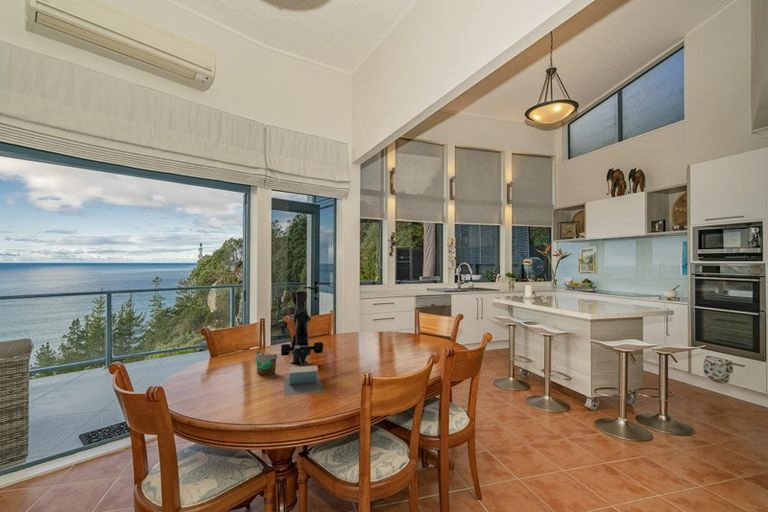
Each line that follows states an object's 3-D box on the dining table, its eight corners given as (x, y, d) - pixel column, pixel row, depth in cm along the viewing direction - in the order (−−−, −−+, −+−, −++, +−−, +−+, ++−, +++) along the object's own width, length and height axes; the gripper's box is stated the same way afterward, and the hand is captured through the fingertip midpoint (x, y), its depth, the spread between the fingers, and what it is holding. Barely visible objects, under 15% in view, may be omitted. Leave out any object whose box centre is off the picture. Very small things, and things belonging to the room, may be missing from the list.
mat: (283, 380, 159) (283, 379, 159) (319, 377, 163) (319, 376, 163) (284, 396, 140) (284, 395, 140) (324, 392, 144) (324, 391, 144)
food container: (248, 374, 167) (249, 353, 167) (258, 370, 172) (259, 350, 173) (267, 378, 161) (267, 356, 161) (277, 374, 167) (277, 353, 167)
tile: (288, 379, 154) (289, 367, 149) (316, 376, 158) (317, 365, 152) (288, 384, 152) (289, 373, 147) (316, 382, 156) (317, 371, 150)
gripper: (320, 343, 173) (322, 372, 162) (281, 346, 167) (280, 376, 157) (322, 330, 165) (324, 360, 155) (281, 332, 160) (281, 363, 149)
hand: (302, 365), depth 154 cm, fingers closed
